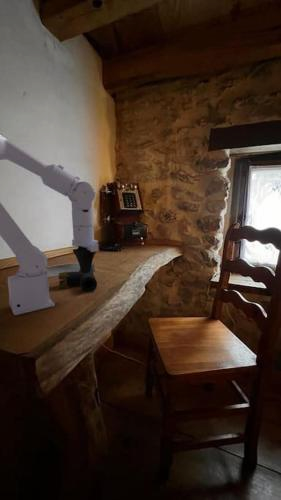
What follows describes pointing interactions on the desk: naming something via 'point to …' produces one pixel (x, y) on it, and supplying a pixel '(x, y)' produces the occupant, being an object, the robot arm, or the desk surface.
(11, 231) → the robot arm
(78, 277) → the pipe connector
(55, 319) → the desk surface
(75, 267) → the guide dock
